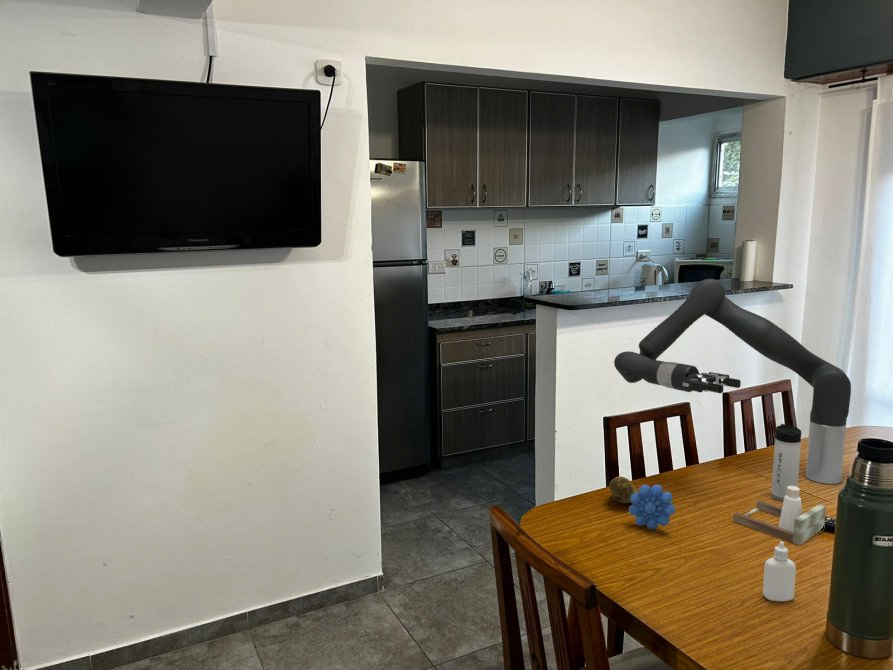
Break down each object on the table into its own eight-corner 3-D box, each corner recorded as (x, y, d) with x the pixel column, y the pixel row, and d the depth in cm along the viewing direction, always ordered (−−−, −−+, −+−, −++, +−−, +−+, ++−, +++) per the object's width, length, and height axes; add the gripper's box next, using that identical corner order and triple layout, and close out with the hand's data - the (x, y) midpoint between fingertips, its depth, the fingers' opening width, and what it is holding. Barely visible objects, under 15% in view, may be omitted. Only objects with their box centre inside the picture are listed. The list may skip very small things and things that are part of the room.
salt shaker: (807, 533, 163) (811, 491, 161) (786, 535, 163) (789, 492, 161) (794, 524, 169) (797, 482, 167) (773, 525, 168) (776, 483, 166)
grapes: (679, 528, 167) (681, 483, 165) (670, 539, 162) (672, 492, 160) (634, 517, 174) (636, 473, 172) (624, 526, 169) (626, 481, 167)
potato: (647, 498, 186) (648, 470, 184) (628, 514, 176) (628, 485, 175) (619, 491, 191) (620, 464, 190) (598, 506, 181) (599, 478, 180)
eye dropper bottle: (763, 588, 140) (767, 534, 138) (794, 595, 137) (798, 540, 135) (761, 598, 136) (765, 543, 134) (792, 606, 133) (797, 550, 131)
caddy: (758, 507, 178) (760, 486, 177) (824, 528, 166) (825, 506, 165) (732, 521, 171) (734, 499, 170) (799, 545, 158) (801, 521, 157)
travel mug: (790, 492, 188) (795, 423, 184) (800, 502, 181) (805, 431, 178) (767, 492, 188) (771, 423, 185) (776, 501, 182) (781, 431, 178)
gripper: (663, 367, 186) (717, 377, 173) (692, 359, 194) (746, 368, 181) (662, 393, 187) (716, 405, 174) (691, 385, 195) (744, 395, 183)
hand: (731, 386), depth 178 cm, fingers open, 8 cm apart
